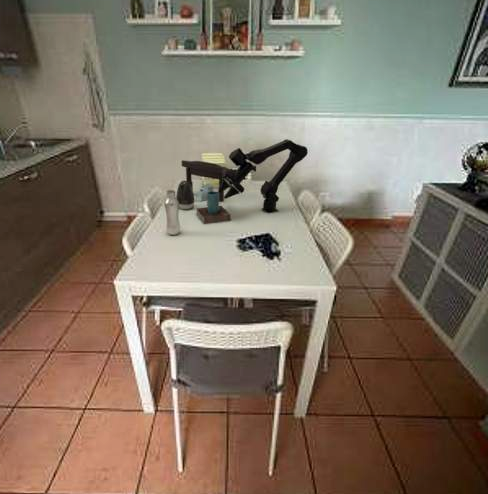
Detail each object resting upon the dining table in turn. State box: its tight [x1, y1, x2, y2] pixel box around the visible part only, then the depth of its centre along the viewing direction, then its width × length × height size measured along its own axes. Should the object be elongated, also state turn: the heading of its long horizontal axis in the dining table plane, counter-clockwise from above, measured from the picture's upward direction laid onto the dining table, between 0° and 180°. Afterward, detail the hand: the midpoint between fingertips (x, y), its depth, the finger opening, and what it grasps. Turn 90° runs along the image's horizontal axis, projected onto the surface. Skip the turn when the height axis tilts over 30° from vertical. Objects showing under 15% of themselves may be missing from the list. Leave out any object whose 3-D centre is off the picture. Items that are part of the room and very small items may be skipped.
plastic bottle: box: [163, 189, 182, 236], centre depth 146 cm, size 6×7×20 cm
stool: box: [181, 160, 225, 203], centre depth 191 cm, size 16×21×33 cm
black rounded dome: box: [175, 180, 196, 210], centre depth 177 cm, size 10×10×15 cm
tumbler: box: [206, 190, 220, 214], centre depth 166 cm, size 6×6×13 cm
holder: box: [195, 205, 232, 225], centre depth 168 cm, size 14×14×3 cm
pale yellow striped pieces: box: [201, 152, 231, 188], centre depth 217 cm, size 30×16×18 cm, turn 7°
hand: (221, 195), depth 165 cm, fingers open, 9 cm apart
